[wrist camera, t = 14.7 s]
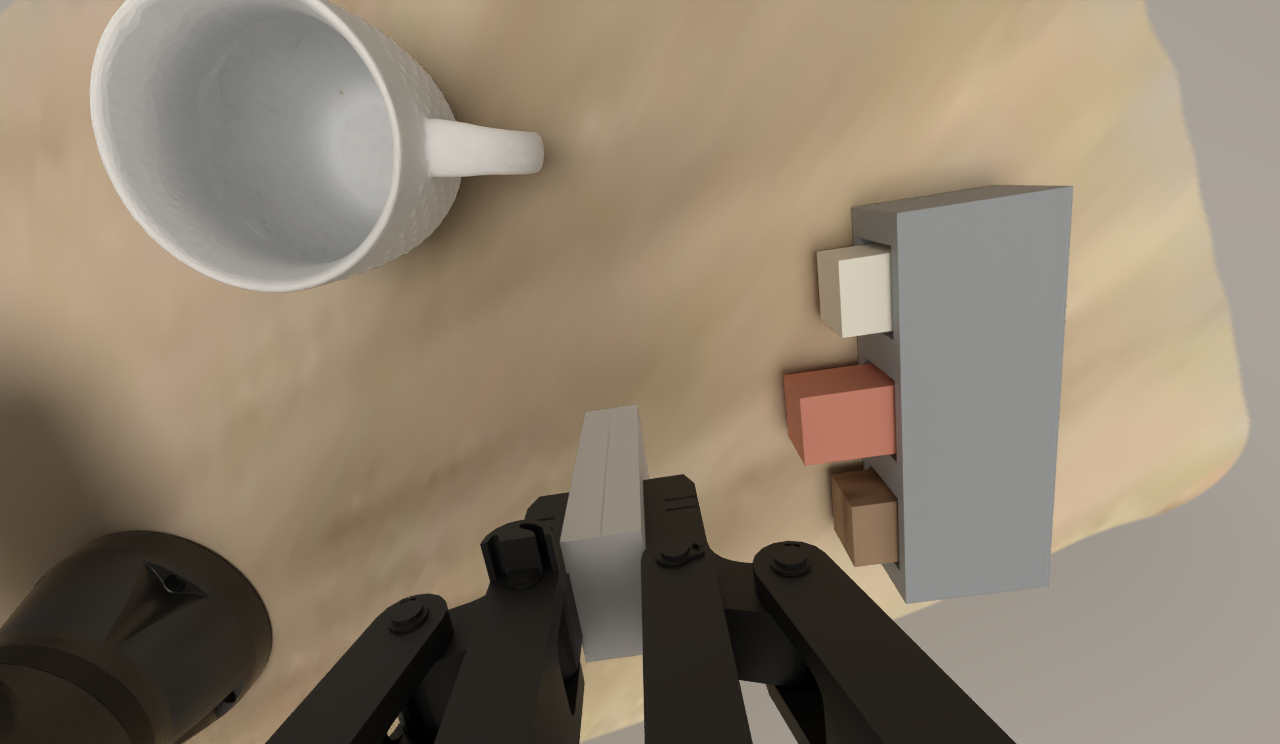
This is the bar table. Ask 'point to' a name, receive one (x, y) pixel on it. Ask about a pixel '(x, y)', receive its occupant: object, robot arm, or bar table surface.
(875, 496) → the walnut peg
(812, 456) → the brick peg
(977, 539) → the socket block
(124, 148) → the mug
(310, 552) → the bar table surface
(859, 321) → the cream peg
